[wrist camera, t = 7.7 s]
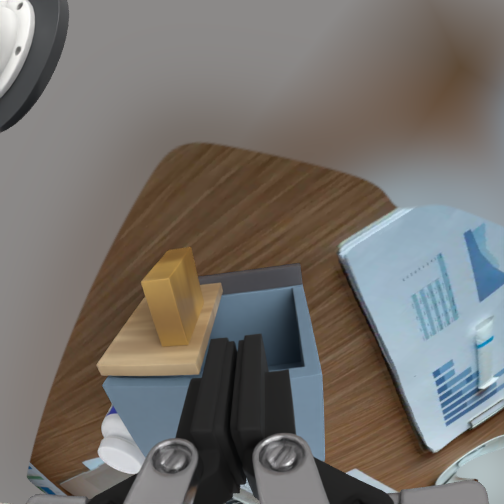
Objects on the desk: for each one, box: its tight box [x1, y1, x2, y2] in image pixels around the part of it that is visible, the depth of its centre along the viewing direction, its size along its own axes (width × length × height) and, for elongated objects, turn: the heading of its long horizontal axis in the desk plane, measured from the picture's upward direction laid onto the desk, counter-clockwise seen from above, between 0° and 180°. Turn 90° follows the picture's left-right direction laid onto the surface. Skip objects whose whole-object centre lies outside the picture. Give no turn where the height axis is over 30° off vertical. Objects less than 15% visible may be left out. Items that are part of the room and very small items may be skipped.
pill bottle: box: [98, 404, 145, 474], centre depth 25 cm, size 5×5×10 cm
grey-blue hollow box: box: [102, 263, 325, 461], centre depth 21 cm, size 10×12×11 cm
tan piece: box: [97, 247, 223, 376], centre depth 20 cm, size 5×6×10 cm
